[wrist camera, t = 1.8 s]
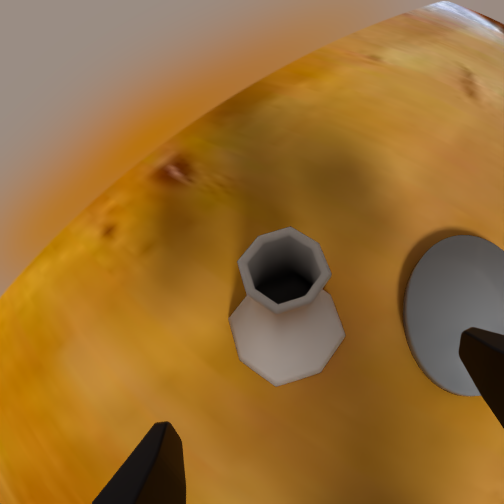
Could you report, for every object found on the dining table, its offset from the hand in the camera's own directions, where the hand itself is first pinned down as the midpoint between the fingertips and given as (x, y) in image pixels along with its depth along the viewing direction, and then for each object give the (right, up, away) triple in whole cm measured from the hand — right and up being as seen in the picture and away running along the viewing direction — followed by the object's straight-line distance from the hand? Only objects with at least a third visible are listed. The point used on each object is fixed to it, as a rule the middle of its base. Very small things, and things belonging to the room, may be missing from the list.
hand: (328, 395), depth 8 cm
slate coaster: (+14, -1, +11) cm, 18 cm away
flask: (0, -1, +12) cm, 12 cm away
